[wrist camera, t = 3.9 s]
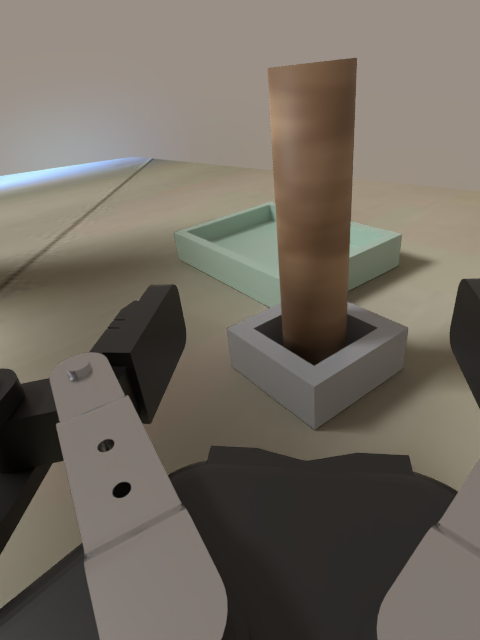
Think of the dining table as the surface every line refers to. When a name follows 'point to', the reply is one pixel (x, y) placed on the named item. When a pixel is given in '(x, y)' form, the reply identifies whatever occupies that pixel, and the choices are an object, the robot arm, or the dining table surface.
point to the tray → (273, 252)
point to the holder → (327, 376)
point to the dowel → (313, 200)
